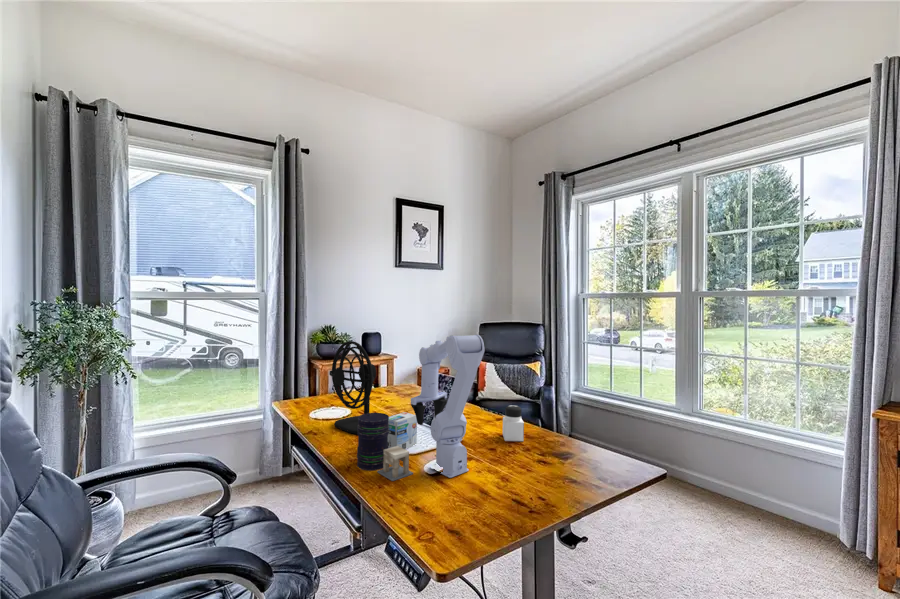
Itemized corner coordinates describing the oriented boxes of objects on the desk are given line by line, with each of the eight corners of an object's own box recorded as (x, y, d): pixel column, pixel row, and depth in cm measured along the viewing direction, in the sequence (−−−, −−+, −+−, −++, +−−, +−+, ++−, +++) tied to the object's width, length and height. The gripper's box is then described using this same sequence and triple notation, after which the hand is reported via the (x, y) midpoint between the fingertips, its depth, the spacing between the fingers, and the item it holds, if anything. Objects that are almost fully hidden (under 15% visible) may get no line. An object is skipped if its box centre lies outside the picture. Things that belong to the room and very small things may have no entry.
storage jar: (394, 464, 130) (395, 417, 130) (368, 473, 123) (368, 423, 123) (376, 455, 137) (377, 410, 137) (350, 463, 130) (351, 416, 130)
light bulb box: (396, 453, 139) (397, 421, 139) (382, 448, 143) (383, 418, 143) (417, 444, 147) (418, 414, 147) (403, 440, 151) (404, 411, 151)
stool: (408, 473, 122) (408, 451, 122) (394, 477, 119) (395, 455, 119) (397, 466, 127) (397, 445, 127) (383, 471, 123) (383, 449, 123)
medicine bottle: (523, 441, 152) (524, 409, 152) (504, 441, 152) (505, 409, 152) (520, 435, 159) (521, 404, 159) (502, 434, 160) (503, 404, 160)
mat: (413, 474, 123) (413, 472, 123) (392, 481, 118) (392, 479, 118) (397, 465, 129) (397, 464, 129) (377, 472, 124) (377, 470, 124)
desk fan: (319, 424, 169) (321, 339, 169) (356, 415, 182) (357, 337, 181) (357, 440, 150) (358, 345, 150) (394, 430, 163) (396, 342, 163)
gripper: (438, 377, 148) (437, 415, 148) (405, 383, 138) (404, 423, 138) (451, 381, 142) (450, 420, 143) (418, 387, 133) (417, 428, 133)
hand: (428, 422), depth 140 cm, fingers open, 7 cm apart
